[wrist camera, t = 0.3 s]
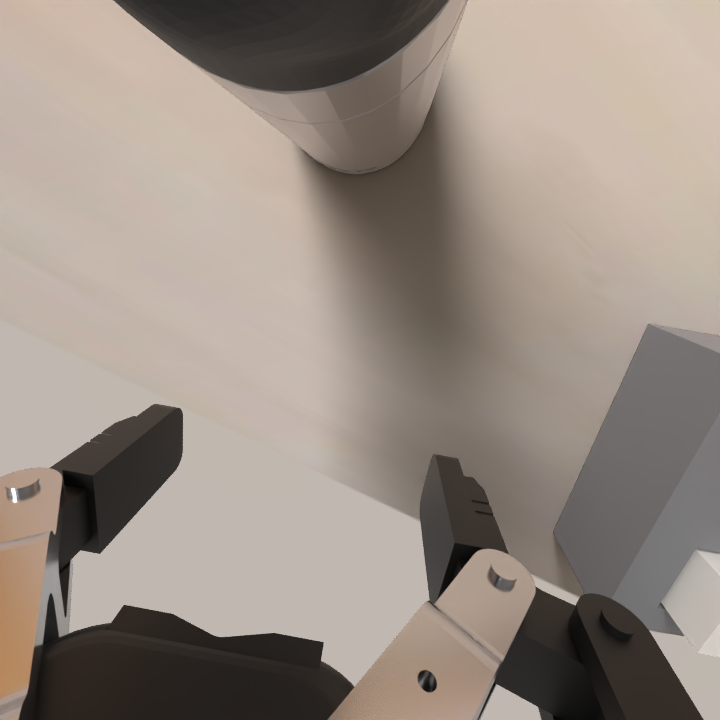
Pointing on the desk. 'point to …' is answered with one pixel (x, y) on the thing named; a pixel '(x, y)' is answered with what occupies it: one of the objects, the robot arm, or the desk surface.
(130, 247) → the desk surface
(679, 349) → the key console
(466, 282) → the desk surface
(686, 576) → the white key
